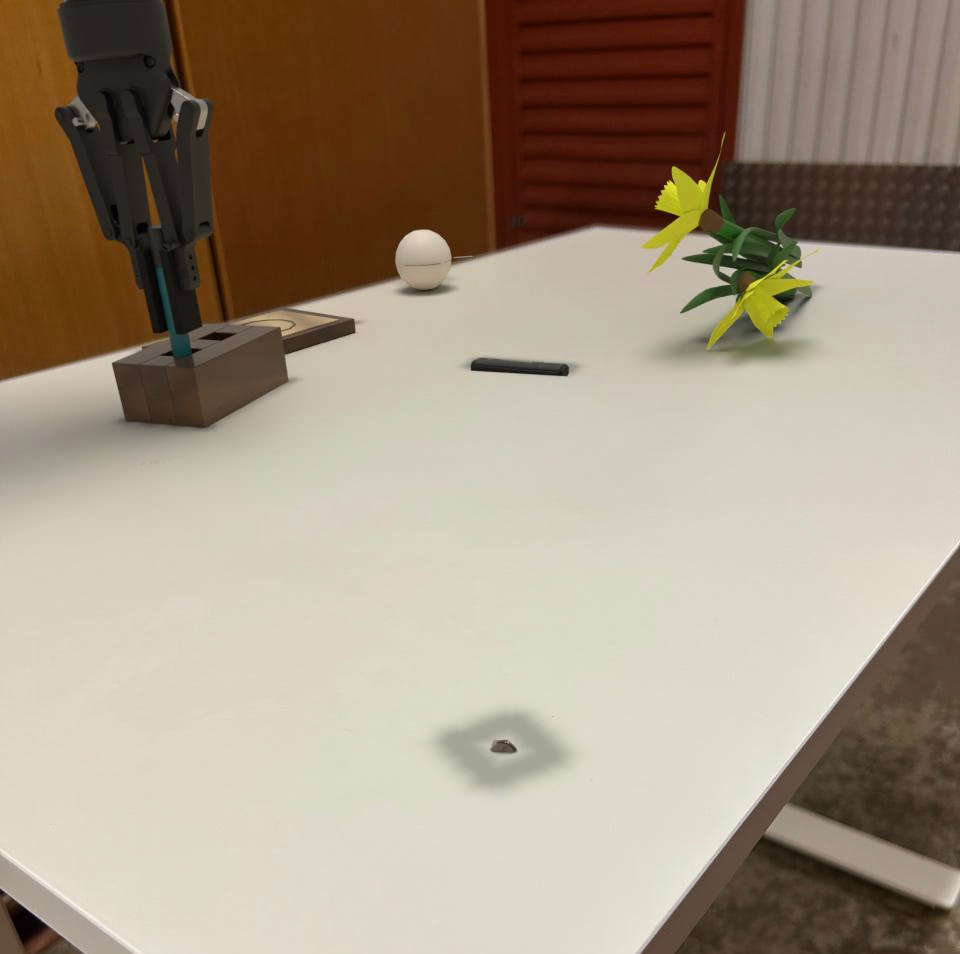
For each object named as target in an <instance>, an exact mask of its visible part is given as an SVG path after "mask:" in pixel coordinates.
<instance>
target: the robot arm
mask: <svg viewBox="0 0 960 954" xmlns="http://www.w3.org/2000/svg"><path fill="white" fill-rule="evenodd" d="M56 12H57V17H58V20H59V25H60V29H61V34H62V38H63V42H64V47H65V51H66V54H67V57H68V58H69V59H70V61H72V62H73V63H74V65H75V68H76V71H77V72H76V73H77V79H76V87H75V88H76V93H77V95H76V96H75V97H74V99H72V101H70V102H69V104H68V105H64V106H57V107H56V108H55V109H54V118H55V120H56V122H57V123H58V125H59V126H60V128H61V130H62V131H63V132H64V134H65V136H66V137H67V139H68V140H69V143H70V146H71V148H72V150H73V153H74V156H75V159H76V162H77V165H78V168H79V171H80V173H81V176H82V180H83V181H84V184H85V187H86V190H87V193H88V196H89V199H90V201H91V204H92V207H93V210H94V213H95V215H96V218H97V221H98V225H99V227H100V231H101V233H102V235H103V237H104V238H105V239H106V240H107V241H109V242H112V241H115V242H118V243H120V244H121V245H123V246H124V247H125V248H126V249H127V251H128V254H129V259H130V263H131V267H132V271H133V275H134V281H135V285H136V287H137V288H138V290H142V291H143V293H144V298H145V302H146V306H147V311H148V317H149V321H150V325H151V330H152V334H163V333H166V332H168V329H167V324H166V319H165V314H164V309H163V304H162V299H161V294H160V290H159V285H158V280H157V275H156V270H155V267H154V263H153V258H152V254H151V249H150V244H149V239H148V234H147V228H148V227H151V226H153V223H152V217H151V210H150V209H151V208H150V203H149V197H148V189H147V183H146V176H147V178H148V181H149V187H150V190H151V193H152V196H153V200H154V204H155V208H156V212H157V215H158V219H159V223H160V226H161V227H162V231H163V235H164V238H165V242H166V243H162V244H160V246H161V248H162V249H163V250H161V251H159V255H160V259H161V264H162V269H163V274H164V279H165V283H166V288H167V293H168V298H169V303H170V307H171V312H172V317H173V322H174V327H175V332H176V334H182V335H184V334H186V333H189V332H191V331H193V330H196V329H198V328H200V327H203V326H202V325H203V321H202V317H201V312H200V306H199V300H198V296H197V291H196V289H199V288H200V287H201V282H202V281H201V280H202V279H201V275H200V270H199V264H198V259H197V254H196V244H197V243H198V242H199V241H201V240H203V239H206V238H208V237H210V236H212V235H213V233H214V215H213V197H212V195H213V194H212V179H211V158H210V157H211V156H210V142H209V140H210V139H209V134H210V133H209V132H210V129H211V126H212V125H211V124H212V119H213V116H214V112H215V110H214V109H215V107H214V104H213V102H212V101H211V100H210V99H209V98H196V97H195V96H193V95H192V94H190V93H189V92H187V91H186V90H184V89H182V87H181V86H182V85H181V82H180V79H179V78H178V76H177V74H176V72H175V71H174V68H173V66H172V63H171V57H172V54H173V49H174V48H173V42H172V38H171V32H170V27H169V26H170V25H169V21H168V15H167V10H166V5H165V3H163V2H162V0H63V2H60V3H58V7H57V8H56ZM172 121H174V122H175V123H176V128H175V129H176V130H175V132H174V128H173V124H172ZM98 126H99V127H98ZM144 167H145V168H144ZM144 169H145V170H144ZM145 171H146V174H147V175H145Z"/></svg>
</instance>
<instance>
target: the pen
mask: <svg viewBox="0 0 960 954" xmlns="http://www.w3.org/2000/svg"><path fill="white" fill-rule="evenodd" d="M147 234H148V239H149V244H150V249H151V254H152V258H153V263H154V267H155V270H156V275H157V280H158V285H159V290H160V294H161V299H162V304H163V309H164V314H165V319H166V324H167V329H168V331H167V333H168V339H170V343H171V348H172V353H173V356H174V357H187V356H189V355H191V354H192V350H191V345H190V339H189V334H188V333H186V334H184V335H182V334H176V332H175V327H174V322H173V317H172V312H171V307H170V303H169V298H168V293H167V288H166V283H165V279H164V274H163V269H162V264H161V259H160V255H159V251H161V250H163V249H162V248H161V246H160V244H162V243H166V242H165V238H164V235H163V231H162V227H161V225H152V226H151V227H148V228H147Z"/></svg>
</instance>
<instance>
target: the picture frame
mask: <svg viewBox="0 0 960 954" xmlns="http://www.w3.org/2000/svg"><path fill="white" fill-rule="evenodd" d="M225 324H230V325H249V326H272V327H281V333H282V340H283V346H284V353H285V355H287V354H290V353H292V352H296V351H299V350H302V348H303V349H306V348H309V347H312V346H315V345H318V343H319V344H321V342H322V343H324V341H325V342H328V341H331V340H334V338H335V339H338V338H341V337H344V336H348V335H351V334H353V332H354V333H356V332H357V331H356V330H357V329H356V321H355V318H352V317H347V316H339V315H333V314H327V313H321V312H314V311H308V310H302V309H295V308H290V307H282V308H278V309H273V310H270V311H266V312H263V313H259V314H256V315H252V316H249V317H244V318H241V319H237V320H234V321H230V322H226V323H225ZM350 333H351V334H350ZM337 337H338V338H337ZM165 340H166V339H164V340H161V341H156V342H152V343H149V344H145V345H142V346H141V350H143V349H146V348H148V347H151V346H153V345H155V344H158V343H160V342H163V341H165ZM286 353H287V354H286Z"/></svg>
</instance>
